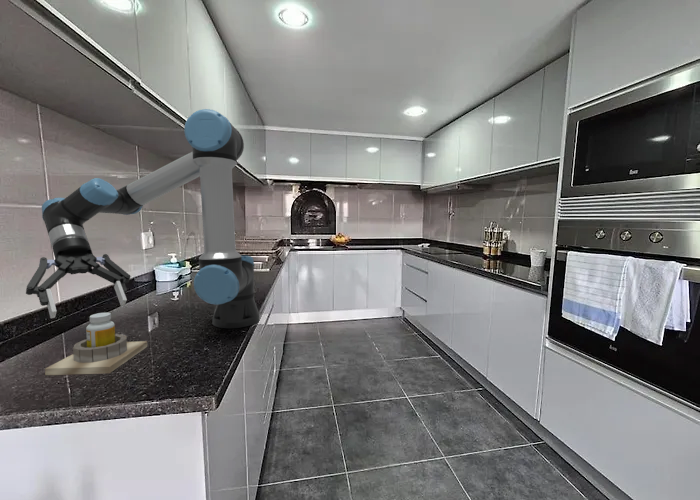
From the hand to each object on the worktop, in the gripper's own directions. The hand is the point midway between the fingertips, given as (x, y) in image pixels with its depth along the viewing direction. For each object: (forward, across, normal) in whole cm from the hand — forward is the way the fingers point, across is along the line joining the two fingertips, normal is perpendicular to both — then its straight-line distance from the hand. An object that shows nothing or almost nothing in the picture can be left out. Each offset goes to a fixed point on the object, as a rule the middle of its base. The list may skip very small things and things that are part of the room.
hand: (91, 308), depth 75 cm
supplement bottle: (+10, -1, -5) cm, 11 cm away
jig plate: (+11, 0, -6) cm, 13 cm away
